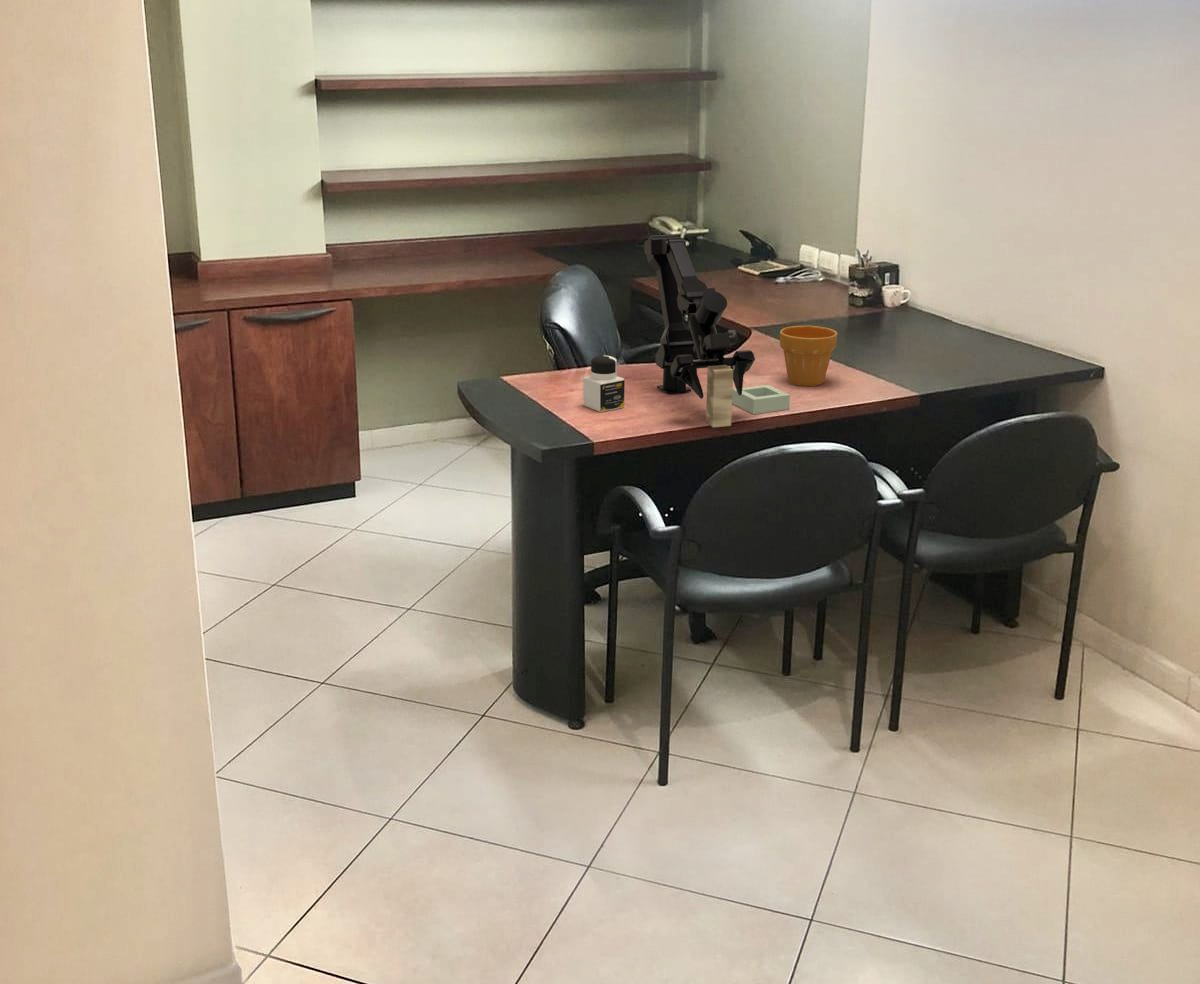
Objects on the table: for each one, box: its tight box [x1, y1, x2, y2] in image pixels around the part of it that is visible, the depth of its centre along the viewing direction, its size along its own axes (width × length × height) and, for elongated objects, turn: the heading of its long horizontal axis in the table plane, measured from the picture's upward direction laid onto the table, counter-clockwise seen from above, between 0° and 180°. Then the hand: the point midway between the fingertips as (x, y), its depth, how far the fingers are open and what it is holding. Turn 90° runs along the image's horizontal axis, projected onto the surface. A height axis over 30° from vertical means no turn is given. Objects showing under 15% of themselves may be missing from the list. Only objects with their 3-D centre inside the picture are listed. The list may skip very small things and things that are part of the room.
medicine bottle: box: [582, 355, 625, 413], centre depth 288 cm, size 7×7×12 cm
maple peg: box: [705, 365, 734, 428], centre depth 276 cm, size 4×4×13 cm
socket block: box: [732, 384, 791, 415], centre depth 290 cm, size 10×10×4 cm
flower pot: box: [779, 325, 838, 387], centre depth 309 cm, size 14×14×13 cm
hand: (721, 396), depth 274 cm, fingers open, 9 cm apart
